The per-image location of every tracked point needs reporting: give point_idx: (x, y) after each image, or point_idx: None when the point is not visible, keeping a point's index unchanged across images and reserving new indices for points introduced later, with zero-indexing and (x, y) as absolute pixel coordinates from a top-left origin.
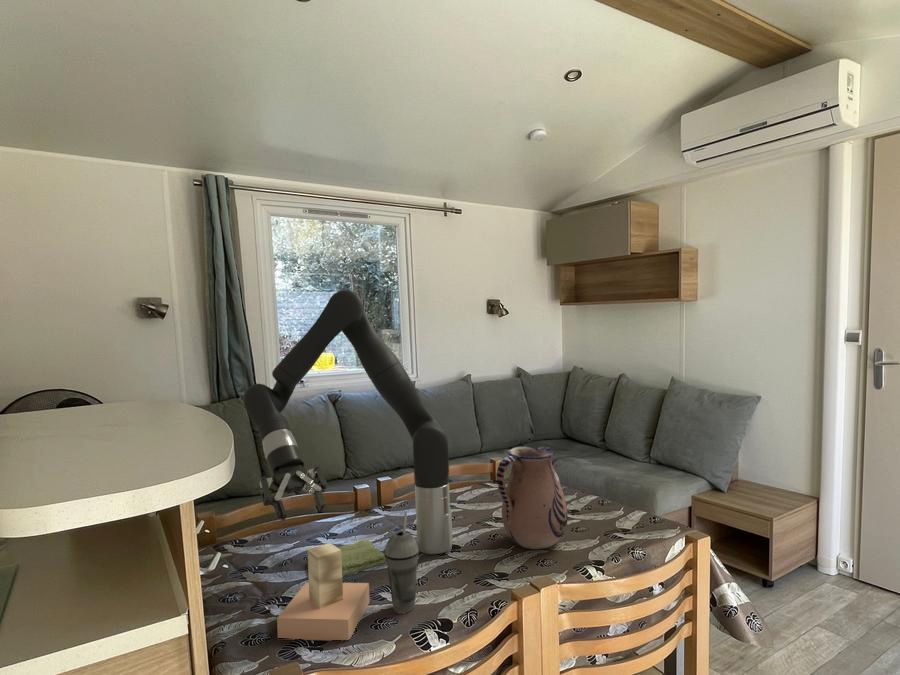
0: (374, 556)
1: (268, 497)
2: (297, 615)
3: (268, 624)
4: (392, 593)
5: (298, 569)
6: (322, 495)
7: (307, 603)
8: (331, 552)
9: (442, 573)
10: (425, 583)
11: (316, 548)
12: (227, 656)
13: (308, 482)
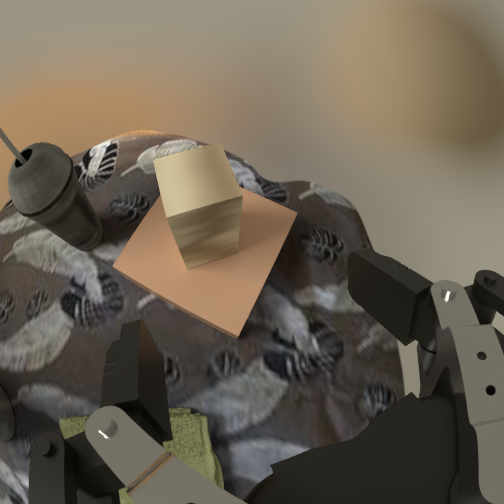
0: (76, 421)
1: (489, 274)
2: (262, 205)
3: (308, 280)
4: (93, 213)
5: (249, 483)
6: (104, 392)
7: (242, 237)
8: (180, 155)
9: (8, 311)
10: (35, 293)
11: (214, 194)
12: (353, 219)
13: (194, 477)
